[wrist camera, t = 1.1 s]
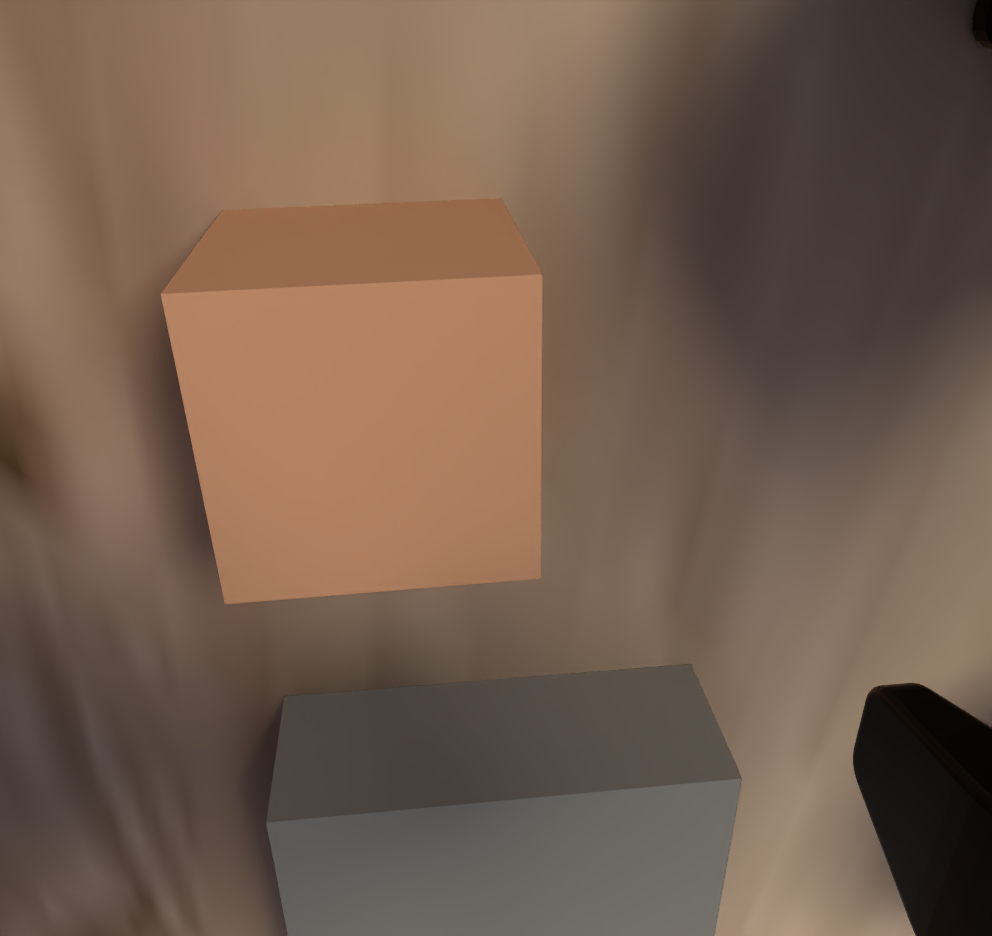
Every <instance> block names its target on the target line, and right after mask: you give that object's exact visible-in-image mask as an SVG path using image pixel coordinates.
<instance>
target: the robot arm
mask: <svg viewBox="0 0 992 936" xmlns="http://www.w3.org/2000/svg"><path fill="white" fill-rule="evenodd" d="M972 31H973V34H974V37H975V39H976V41H977V42H978V43H979V44H981V45H982V46H983V47H986V48H991V49H992V0H976V5H975V9H974V14H973V23H972ZM853 765H854V772H855V776H856V779H857V782H858V785H859V788H860V790H861V793H862V796H863V798H864V801H865V804H866V806H867V809H868V812H869V814H870V817H871V820H872V822H873V825H874V828H875V830H876V833H877V836H878V838H879V841H880V843H881V846H882V849H883V851H884V854H885V857H886V859H887V862H888V865H889V867H890V870H891V873H892V875H893V878H894V881H895V883H896V886H897V889H898V891H899V894H900V897H901V899H902V902H903V905H904V907H905V910H906V912H907V915H908V918H909V920H910V923H911V925H912V928H913V930H914V933H915V935H916V936H992V727H990V726H988V725H987V724H985V723H984V722H982V721H980V720H979V719H977V718H976V717H974V716H972V715H971V714H969V713H967V712H966V711H964V710H963V709H961V708H959V707H958V706H956V705H955V704H953V703H951V702H950V701H948V700H947V699H945V698H943V697H942V696H940V695H939V694H937V693H935V692H934V691H932V690H931V689H929V688H927V687H925V686H923V685H920V684H917V683H904V684H893V685H881V686H877V687H874V688H873V689H872V690H871V691H870V692H869V694H868V695H867V698H866V701H865V706H864V710H863V714H862V718H861V722H860V726H859V730H858V734H857V738H856V742H855V747H854V752H853Z"/></svg>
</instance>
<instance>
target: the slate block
mask: <svg viewBox="0 0 992 936" xmlns="http://www.w3.org/2000/svg"><path fill="white" fill-rule="evenodd" d="M741 782H742V777H741V775H740V773H739V770H738V768H737V766H736V764H735V761H734V759H733V757H732V755H731V752H730V750H729V748H728V746H727V743H726V741H725V739H724V737H723V735H722V732H721V730H720V728H719V726H718V723H717V721H716V719H715V717H714V714H713V712H712V710H711V708H710V705H709V703H708V701H707V699H706V696H705V694H704V692H703V690H702V688H701V685H700V683H699V681H698V679H697V676H696V674H695V672H694V670H693V667H692V665H691V664H684V665H672V666H659V667H647V668H634V669H622V670H609V671H597V672H584V673H571V674H559V675H546V676H534V677H521V678H509V679H496V680H484V681H471V682H458V683H446V684H433V685H421V686H408V687H396V688H383V689H370V690H358V691H345V692H333V693H320V694H308V695H295V696H284V702H283V709H282V716H281V722H280V729H279V736H278V743H277V750H276V757H275V764H274V771H273V778H272V785H271V792H270V799H269V806H268V813H267V820H266V825H267V830H268V835H269V840H270V846H271V851H272V856H273V861H274V866H275V871H276V877H277V882H278V887H279V892H280V897H281V903H282V908H283V913H284V918H285V923H286V928H287V934H288V936H714V934H715V929H716V923H717V917H718V912H719V906H720V900H721V895H722V889H723V884H724V878H725V872H726V867H727V861H728V855H729V850H730V844H731V838H732V833H733V827H734V821H735V816H736V810H737V804H738V799H739V793H740V788H741Z"/></svg>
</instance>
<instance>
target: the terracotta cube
mask: <svg viewBox="0 0 992 936" xmlns="http://www.w3.org/2000/svg"><path fill="white" fill-rule="evenodd" d="M161 298H162V303H163V307H164V312H165V317H166V322H167V327H168V332H169V336H170V341H171V346H172V351H173V356H174V361H175V365H176V370H177V375H178V380H179V385H180V390H181V394H182V399H183V404H184V409H185V414H186V419H187V423H188V428H189V433H190V438H191V443H192V448H193V452H194V457H195V462H196V467H197V472H198V477H199V481H200V486H201V491H202V496H203V501H204V506H205V510H206V515H207V520H208V525H209V530H210V535H211V539H212V544H213V549H214V554H215V559H216V564H217V568H218V573H219V578H220V583H221V588H222V593H223V597H224V602H225V604H234V603H246V602H259V601H271V600H284V599H296V598H308V597H321V596H333V595H346V594H358V593H370V592H383V591H395V590H407V589H420V588H432V587H445V586H457V585H469V584H482V583H494V582H506V581H519V580H531V579H541V452H542V273H541V271H540V269H539V267H538V265H537V264H536V262H535V260H534V258H533V256H532V254H531V253H530V251H529V249H528V247H527V245H526V243H525V242H524V240H523V238H522V236H521V234H520V232H519V230H518V229H517V227H516V225H515V223H514V221H513V219H512V218H511V216H510V214H509V212H508V210H507V208H506V207H505V205H504V203H503V201H502V199H501V198H498V199H475V200H452V201H428V202H405V203H382V204H359V205H336V206H313V207H289V208H266V209H243V210H222V211H221V213H220V214H219V215H218V217H217V218H216V219H215V221H214V222H213V224H212V225H211V226H210V228H209V229H208V230H207V232H206V233H205V234H204V236H203V237H202V239H201V240H200V241H199V243H198V244H197V245H196V247H195V248H194V249H193V251H192V252H191V254H190V255H189V256H188V258H187V259H186V260H185V262H184V263H183V264H182V266H181V267H180V268H179V270H178V271H177V273H176V274H175V275H174V277H173V278H172V279H171V281H170V282H169V283H168V285H167V286H166V288H165V289H164V290H163V292H162V293H161Z"/></svg>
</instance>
